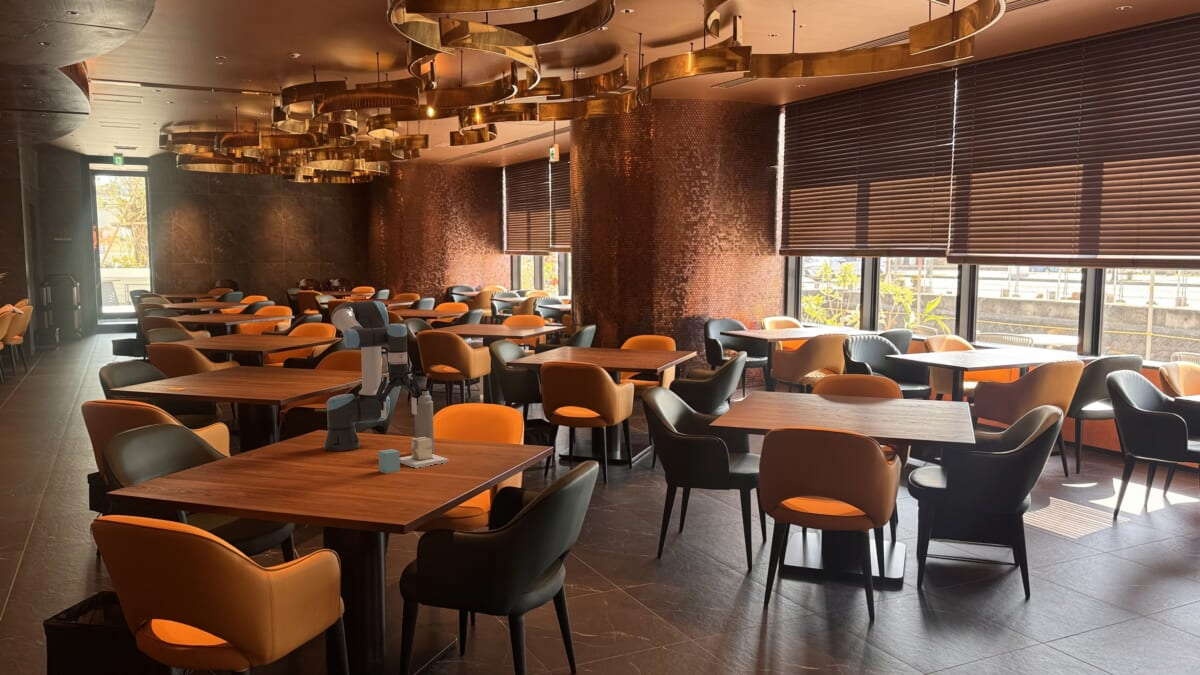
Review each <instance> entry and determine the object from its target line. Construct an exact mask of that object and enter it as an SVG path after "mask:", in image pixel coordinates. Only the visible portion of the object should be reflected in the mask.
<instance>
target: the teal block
mask: <svg viewBox="0 0 1200 675" xmlns="http://www.w3.org/2000/svg"><path fill="white" fill-rule="evenodd" d="M400 452H401V451H400V450H397V449H393V448H389V449H384V450H383V449H382V450H378V452H377V453H378V455H377V456H378V472H381V473H384V474H392V473H397V472H400V471H401V463H400V456H401V455H400V454H401V453H400Z"/></svg>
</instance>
